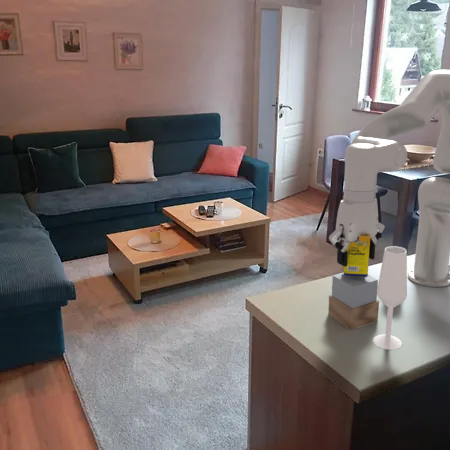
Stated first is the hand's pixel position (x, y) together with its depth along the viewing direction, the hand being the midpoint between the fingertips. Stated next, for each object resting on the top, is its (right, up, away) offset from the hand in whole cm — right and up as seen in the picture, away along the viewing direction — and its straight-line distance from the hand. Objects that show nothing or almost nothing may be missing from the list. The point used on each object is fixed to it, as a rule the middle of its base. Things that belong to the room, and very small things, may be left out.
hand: (355, 260), depth 125 cm
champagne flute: (+6, -19, -6) cm, 21 cm away
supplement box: (0, -3, +1) cm, 3 cm away
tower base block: (+1, -16, +5) cm, 17 cm away
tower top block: (0, -10, +3) cm, 11 cm away
